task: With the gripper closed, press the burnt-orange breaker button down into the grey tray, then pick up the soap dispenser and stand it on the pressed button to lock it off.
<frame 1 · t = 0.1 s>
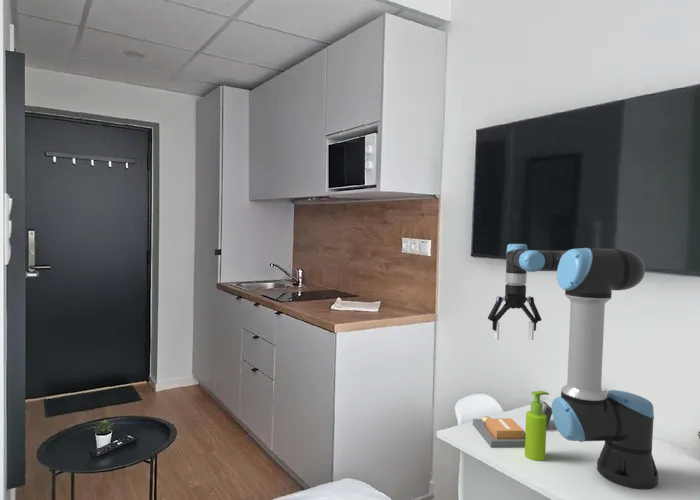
hand: (513, 339, 183), 28 cm above the table, tool pointing down, fingers open, 13 cm apart
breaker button: (504, 428, 159), point 3 cm above the table, slide at 0.0 cm
grey tray: (501, 435, 161), on the table
electrical switch: (539, 426, 170), on the table
soap dispenser: (536, 456, 146), on the table
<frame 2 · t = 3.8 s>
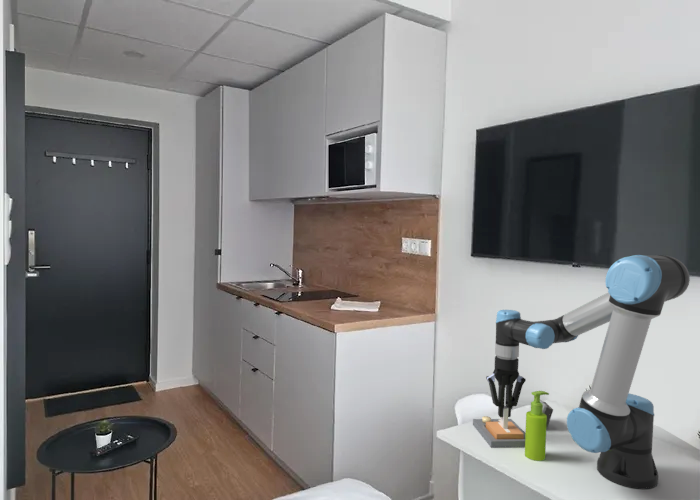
hand: (503, 426, 159), 4 cm above the table, tool pointing down, fingers closed
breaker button: (504, 431, 159), point 2 cm above the table, slide at 1.1 cm, touching gripper
everything else where it was.
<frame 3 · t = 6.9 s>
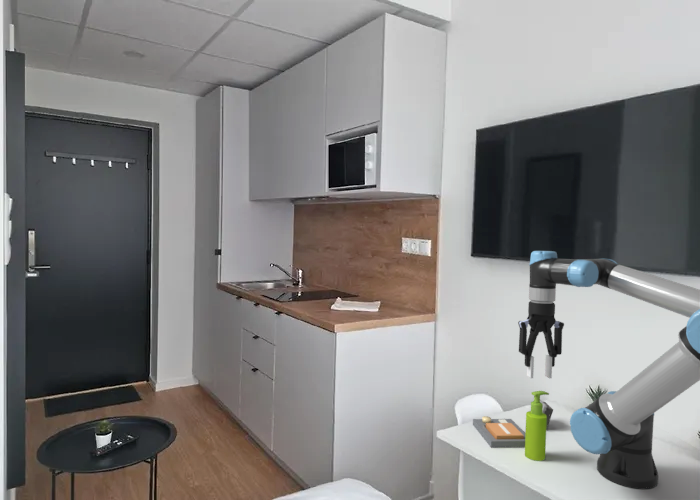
hand: (539, 376, 146), 25 cm above the table, tool pointing down, fingers open, 5 cm apart
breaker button: (504, 433, 159), point 2 cm above the table, slide at 1.6 cm
everything else where it was.
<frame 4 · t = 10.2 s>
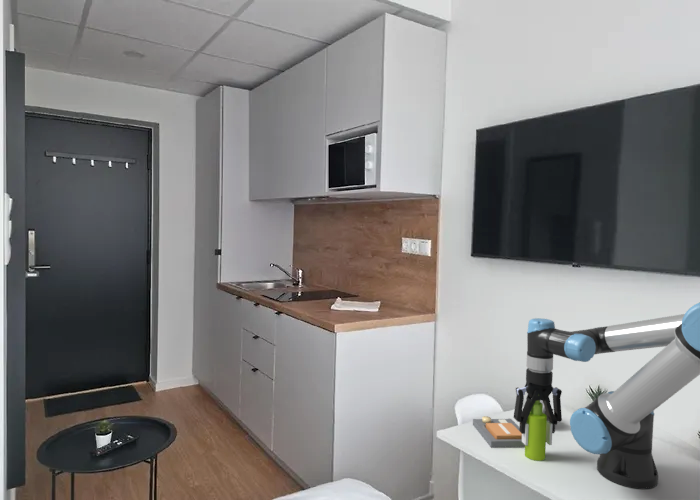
hand: (536, 443, 146), 4 cm above the table, tool pointing down, fingers open, 7 cm apart
soap dispenser: (536, 456, 146), on the table, touching gripper
everything else where it was.
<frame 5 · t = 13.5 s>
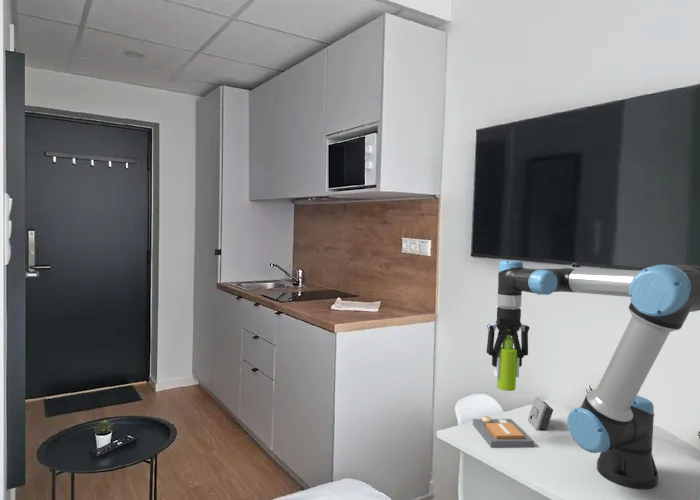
hand: (506, 375, 158), 21 cm above the table, tool pointing down, fingers closed on soap dispenser, 6 cm apart
soap dispenser: (507, 388, 158), point 17 cm above the table, touching gripper
everything else where it was.
when the fingers open (8 cm above the table, at t = 16.8 s): soap dispenser drops 1 cm, resting on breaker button.
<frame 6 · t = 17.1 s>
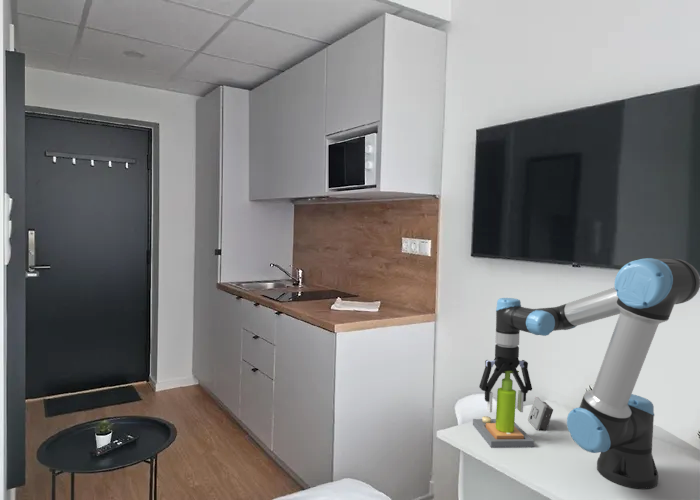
hand: (504, 410, 159), 9 cm above the table, tool pointing down, fingers open, 10 cm apart
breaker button: (504, 433, 159), point 2 cm above the table, slide at 1.6 cm, touching soap dispenser
soap dispenser: (505, 429, 159), point 3 cm above the table, touching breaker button
everything else where it was.
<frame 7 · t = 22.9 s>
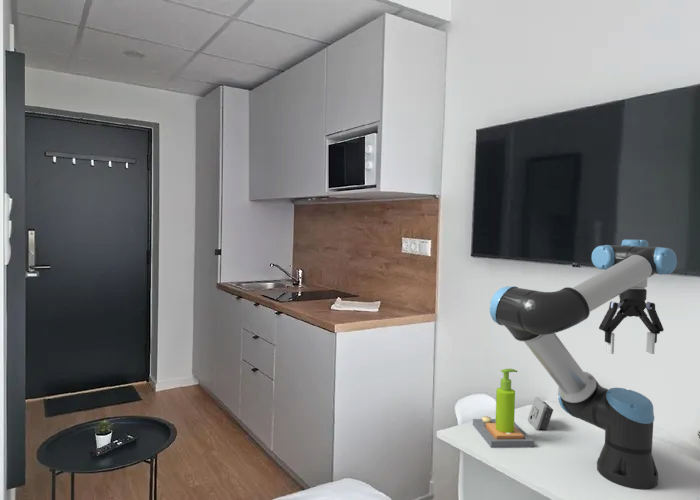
hand: (630, 352, 154), 31 cm above the table, tool pointing down, fingers open, 13 cm apart
nothing on the table moved.
at the end: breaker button slide at 1.6 cm; soap dispenser 0.6 cm from the target spot on the grey tray, point 2.9 cm above the grey tray's base; soap dispenser tilted 0° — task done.
